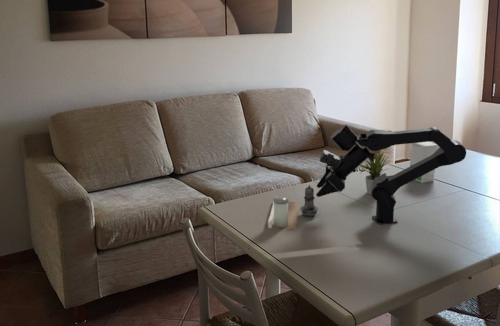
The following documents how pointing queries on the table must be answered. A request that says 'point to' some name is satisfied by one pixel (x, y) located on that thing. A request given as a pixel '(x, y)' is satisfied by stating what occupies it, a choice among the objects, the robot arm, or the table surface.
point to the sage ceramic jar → (280, 211)
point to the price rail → (271, 217)
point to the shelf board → (291, 216)
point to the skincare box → (420, 153)
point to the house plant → (373, 170)
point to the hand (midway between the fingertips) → (317, 191)
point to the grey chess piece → (309, 203)
